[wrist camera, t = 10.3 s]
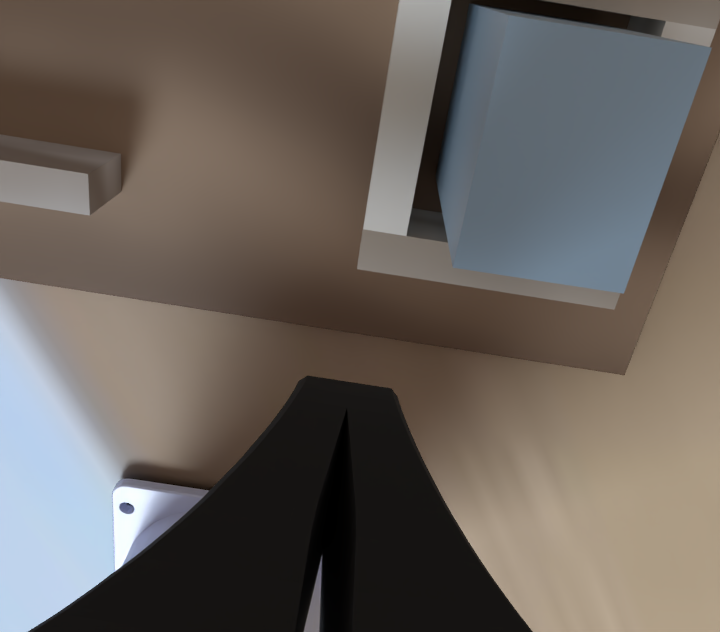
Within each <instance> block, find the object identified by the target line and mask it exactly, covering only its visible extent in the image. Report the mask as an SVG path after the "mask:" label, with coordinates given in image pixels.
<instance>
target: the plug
mask: <svg viewBox="0 0 720 632" xmlns="http://www.w3.org/2000/svg"><path fill="white" fill-rule="evenodd" d="M711 49H712V48H711V47H706V46H702V45H697V44H692V43H687V42H683V41H678V40H673V39H669V38H664V37H659V36H654V35H650V34H645V33H640V32H635V31H631V30H626V29H621V28H616V27H612V26H607V25H602V24H597V23H590V22H584V21H578V20H572V19H565V18H559V17H553V16H547V15H540V14H534V13H528V12H522V11H515V10H509V9H503V8H496V7H490V6H484V5H478V4H471V3H469V8H468V13H467V18H466V23H465V28H464V33H463V38H462V44H461V49H460V54H459V59H458V64H457V69H456V74H455V79H454V84H453V89H452V94H451V99H450V104H449V110H448V115H447V120H446V125H445V130H444V135H443V140H442V145H441V150H440V155H439V160H438V165H437V170H436V176H435V177H436V182H437V187H438V193H439V198H440V203H441V208H442V214H443V219H444V224H445V229H446V235H447V240H448V245H449V250H450V256H451V261H452V266H453V268H458V269H465V270H471V271H478V272H485V273H491V274H498V275H504V276H511V277H518V278H524V279H531V280H537V281H544V282H550V283H557V284H564V285H570V286H577V287H583V288H590V289H596V290H603V291H610V292H616V293H623V294H624V292H625V289H626V286H627V283H628V281H629V278H630V275H631V272H632V269H633V267H634V264H635V261H636V258H637V255H638V253H639V250H640V247H641V244H642V242H643V239H644V236H645V233H646V230H647V228H648V225H649V222H650V219H651V216H652V214H653V211H654V208H655V205H656V202H657V200H658V197H659V194H660V191H661V189H662V186H663V183H664V180H665V177H666V175H667V172H668V169H669V166H670V163H671V161H672V158H673V155H674V152H675V150H676V147H677V144H678V141H679V138H680V136H681V133H682V130H683V127H684V124H685V122H686V119H687V116H688V113H689V110H690V108H691V105H692V102H693V99H694V97H695V94H696V91H697V88H698V85H699V83H700V80H701V77H702V74H703V71H704V69H705V66H706V63H707V60H708V57H709V55H710V52H711Z"/></svg>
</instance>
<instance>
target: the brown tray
mask: <svg viewBox="0 0 720 632" xmlns="http://www.w3.org/2000/svg"><path fill="white" fill-rule="evenodd" d="M469 3H471V4H478V5H484V6H490V7H496V8H503V9H509V10H515V11H522V12H528V13H534V14H540V15H547V16H553V17H559V18H565V19H572V20H578V21H584V22H590V23H597V24H602V25H607V26H612V27H616V28H621V29H626V30H631V31H635V32H640V33H645V34H650V35H654V36H659V37H664V38H669V39H673V40H678V41H683V42H687V43H692V44H697V45H702V46H706V47H711V48H712V49H711V52H710V55H709V57H708V60H707V63H706V66H705V69H704V71H703V74H702V77H701V80H700V83H699V85H698V88H697V91H696V94H695V97H694V99H693V102H692V105H691V108H690V110H689V113H688V116H687V119H686V122H685V124H684V127H683V130H682V133H681V136H680V138H679V141H678V144H677V147H676V150H675V152H674V155H673V158H672V161H671V163H670V166H669V169H668V172H667V175H666V177H665V180H664V183H663V186H662V189H661V191H660V194H659V197H658V200H657V202H656V205H655V208H654V211H653V214H652V216H651V219H650V222H649V225H648V228H647V230H646V233H645V236H644V239H643V242H642V244H641V247H640V250H639V253H638V255H637V258H636V261H635V264H634V267H633V269H632V272H631V275H630V278H629V281H628V283H627V286H626V289H625V292H624V294H623V293H616V292H610V291H603V290H596V289H590V288H583V287H577V286H570V285H564V284H557V283H550V282H544V281H537V280H531V279H524V278H518V277H511V276H504V275H498V274H491V273H485V272H478V271H471V270H465V269H458V268H453V266H452V261H451V256H450V250H449V245H448V240H447V235H446V229H445V224H444V219H443V214H442V208H441V203H440V198H439V193H438V187H437V182H436V177H435V176H436V170H437V165H438V160H439V155H440V150H441V145H442V140H443V135H444V130H445V125H446V120H447V115H448V110H449V104H450V99H451V94H452V89H453V84H454V79H455V74H456V69H457V64H458V59H459V54H460V49H461V44H462V38H463V33H464V28H465V23H466V18H467V13H468V8H469ZM719 132H720V0H0V278H4V279H11V280H17V281H23V282H30V283H36V284H43V285H49V286H55V287H62V288H68V289H75V290H81V291H88V292H94V293H100V294H107V295H113V296H120V297H126V298H132V299H139V300H145V301H152V302H158V303H165V304H171V305H177V306H184V307H190V308H197V309H203V310H210V311H216V312H222V313H229V314H235V315H242V316H248V317H254V318H261V319H267V320H274V321H280V322H287V323H293V324H299V325H306V326H312V327H319V328H325V329H331V330H338V331H344V332H351V333H357V334H364V335H370V336H376V337H383V338H389V339H396V340H402V341H408V342H415V343H421V344H428V345H434V346H441V347H447V348H453V349H460V350H466V351H473V352H479V353H486V354H492V355H498V356H505V357H511V358H518V359H524V360H530V361H537V362H543V363H550V364H556V365H563V366H569V367H575V368H582V369H588V370H595V371H601V372H607V373H614V374H620V375H625V372H626V370H627V367H628V365H629V362H630V360H631V357H632V355H633V352H634V349H635V347H636V344H637V342H638V339H639V337H640V334H641V332H642V329H643V326H644V324H645V321H646V319H647V316H648V314H649V311H650V309H651V306H652V303H653V301H654V298H655V296H656V293H657V291H658V288H659V286H660V283H661V280H662V278H663V275H664V273H665V270H666V268H667V265H668V262H669V260H670V257H671V255H672V252H673V250H674V247H675V245H676V242H677V239H678V237H679V234H680V232H681V229H682V227H683V224H684V222H685V219H686V216H687V214H688V211H689V209H690V206H691V204H692V201H693V199H694V196H695V193H696V191H697V188H698V186H699V183H700V181H701V178H702V176H703V173H704V170H705V168H706V165H707V163H708V160H709V158H710V155H711V153H712V150H713V147H714V145H715V142H716V140H717V137H718V135H719Z"/></svg>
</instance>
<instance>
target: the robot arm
mask: <svg viewBox="0 0 720 632" xmlns="http://www.w3.org/2000/svg"><path fill="white" fill-rule="evenodd" d="M125 502H127V503H130V504H132V505H133V506H130V505H127V504H126V503H125ZM112 503H113V537H114V571H115V572H114V573H112V574H111V575H110V576H108V577H107V578H106V579H104V580H103V581H102V582H100V583H99V584H98V585H96V586H95V587H94V588H92V589H91V590H90V591H88V592H87V593H85V594H84V595H83V596H81V597H80V598H78V599H77V600H75V601H74V602H73V603H71V604H70V605H68V606H67V607H65V608H64V609H62V610H61V611H60V612H58V613H57V614H55V615H53V616H52V617H50V618H49V619H47V620H46V621H44V622H42V623H41V624H39V625H38V626H36V627H35V628H33V629H31V630H30V631H28V632H532V630H531V629H530V628H529V627H528V625H527V624H526V623H525V621H524V620H523V619H522V618H521V616H520V615H519V614H518V612H517V611H516V610H515V609H514V607H513V606H512V604H511V603H510V602H509V600H508V599H507V598H506V596H505V595H504V593H503V592H502V591H501V589H500V588H499V586H498V585H497V584H496V582H495V581H494V580H493V578H492V577H491V575H490V574H489V572H488V571H487V569H486V568H485V566H484V565H483V563H482V562H481V560H480V559H479V557H478V556H477V554H476V553H475V551H474V550H473V548H472V547H471V545H470V543H469V542H468V540H467V539H466V537H465V535H464V534H463V532H462V530H461V529H460V527H459V525H458V524H457V522H456V520H455V519H454V517H453V515H452V514H451V512H450V510H449V508H448V507H447V505H446V503H445V501H444V500H443V498H442V496H441V494H440V492H439V490H438V488H437V486H436V484H435V482H434V481H433V479H432V477H431V475H430V473H429V471H428V469H427V467H426V465H425V463H424V461H423V459H422V457H421V455H420V453H419V451H418V448H417V446H416V444H415V442H414V439H413V437H412V435H411V432H410V430H409V428H408V425H407V423H406V420H405V418H404V415H403V412H402V410H401V407H400V404H399V401H398V397H397V396H396V394H395V393H394V392H393V390H392V389H390V388H384V387H377V386H371V385H364V384H358V383H351V382H345V381H338V380H332V379H325V378H319V377H313V376H306V377H305V378H303V379H302V380H300V381H299V382H298V384H297V386H296V388H295V389H294V391H293V393H292V394H291V396H290V398H289V399H288V401H287V402H286V403H285V405H284V406H283V408H282V409H281V411H280V412H279V413H278V414H277V416H276V417H275V418H274V420H273V421H272V422H271V424H270V425H269V426H268V427H267V429H266V430H265V431H264V432H263V433H262V434H261V436H260V437H259V438H258V439H257V440H256V442H255V443H254V444H253V445H252V446H251V447H250V449H249V450H248V451H247V452H246V453H245V454H244V456H243V457H242V458H241V459H240V460H239V461H238V462H237V463H236V464H235V465H234V466H233V467H232V468H231V469H230V470H229V471H228V472H227V473H226V474H225V476H224V477H223V478H222V479H221V480H220V481H219V482H218V483H217V484H216V485H215V486H214V487H213V488H212V489H211V490H203V489H196V488H190V487H183V486H176V485H170V484H163V483H156V482H150V481H143V480H136V479H122V480H120V481H119V482H118V483H117V484H116V486H115V487H114V489H113V493H112Z"/></svg>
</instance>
